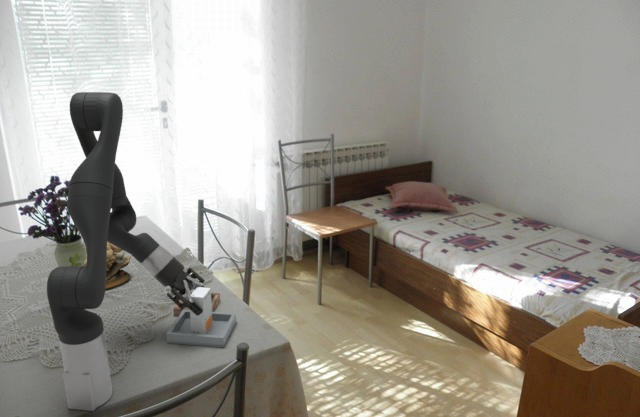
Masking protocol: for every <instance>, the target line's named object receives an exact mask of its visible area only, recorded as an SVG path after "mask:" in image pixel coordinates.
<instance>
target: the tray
mask: <svg viewBox="0 0 640 417" xmlns="http://www.w3.org/2000/svg"><path fill="white" fill-rule="evenodd" d="M236 324H237V313H236V312H223V311H222V312H221V311H214V312H212V326H211V327H210V329H209V330H208V332H207V333H206V335H204V334H191V321H190V310H183V311H182V312H181V313H180V315H179V316H177V318H176V319H175V321H174V322H173V324H172V325H171V326H170V327H169V329H168V330H167V332H166V343H167V344H172V345H173V344H175V345H185V346H186V345H187V346H199V347H213V348H225V346H226V344H227V342H228V340H229V338H230V337H231V334H232V332H233V330H234V327H235V326H236Z"/></svg>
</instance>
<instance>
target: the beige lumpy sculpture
mask: <svg viewBox="0 0 640 417" xmlns="http://www.w3.org/2000/svg"><path fill="white" fill-rule="evenodd" d="M84 247H85V248H86V246H84ZM130 262H131V256H129V255H127V256H125V251H124V250H122V249H120V248H118V247H117V246H115V245H113V244H111V243H109V242H107V262H106V288H105V292H106V291H109V290H113V289H117V288H119V287H122V286H124V285H125V284H127V283H128V282H130V281H131V279H132V278H131V277H132V276H131V274H130V273H129V272H127V271H126V270H124V269H123V268H125V267H127V266H128V265H129V264H130ZM86 264H87V252H86V260H85V261H84V264H83V266H86Z"/></svg>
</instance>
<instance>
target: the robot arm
mask: <svg viewBox="0 0 640 417" xmlns="http://www.w3.org/2000/svg"><path fill="white" fill-rule="evenodd" d="M69 115H70V119H71V122H72V125H73V129H74V131H75V133H76V136H77V139H78V140H79V144H80V146H81V149H82V152H83V154H84V157H85V158H84V160H83V161H82V162H81V163H80V165H79V166H78V167H77V168H76V169H75V171H74V172H73V173H72V175H71V178H70V180H69V184H68V194H67V199H66V200H67V203H66V207H67V208H66V209H67V211H68V214H69V216H70V219H71V220H72V223H73V224H74V226H75V228H76V229H77V231H78V232H79V234H80V236H81V238H82V239H83V244H84V245H85V246H84V247H86V252H87V264H86V266H77V265H76V266H57V267H54V268H53V269H52V270H51V271H50V273H49V274H48V277H47V282H46V294H47V295H46V296H47V301H48V304H49V308H50V313H51V318H52V321H53V326H54V329H55V332H56V333H57V335H58V336H57V337H58V340H59V341H58V342H59V346H60V347H59V348H60V353H61V360H62V365H63V370H64V372H63V373H62V380H63V386H64V390H65V395H66V396H65V398H66V402H67V403H66V404H67V407H68V409H70V410H80V411H89V412H94V411H95V410H96V409H97V408H98V407H100V406H102V405H105V404H106V403H107V402H108V401H109V400H110V399H111V397H112V395H113V386H112V378H111V371H110V365H109V364H110V363H109V359H108V358H109V356H108V350H107V344H106V335H105V329H104V321H103V318H102V317H101V316H100V315H99V314H97V313H95V312H92V311H90V310H96V309H99V307H100V306H101V305H102V303H103V301H104V298H105V294H106V291H105V288H106V262H107V242H109V243H111V244H113V245H115V246H117V247H118V248H120V249H122V250H124V252H126V253H128V254H130V255H131V256H132V257H133V258H134V259H135V260H136V261H137V262H139V264H141V265H142V267H143V268H144V269H145V270H146V271H147V272H148V273H149V274H150V275H151V276H152V277H153V278H154V279H155V280H156V281H158V283H160V285H162V286H163V287H165V288H166V287H169V288H170V290H169V291H168V292H167V293H166V296H167V297H168V299H170V300H171V301H172V302H173V303H174V304H175V305H177V306H178V307H179V308H180V309H184V308H189V309H190V310H191V311H192V312H193V313H194V314H196V315H197V316H199V315H200V314H201V313H202V312H203V309H202V308H201V307H200V306H199V305H197V304H196V303H195V302H193V300H192V298H191V292H190V291H194V290H195V289H196V288H197V287H204V288H206V286H205V279H204V278H203V277H201V275H199V274H198V273H197V272H196V271H195V270H194V269H193V268H192V267H188V268H187V269H186V270H185V266H184V265H183V264H182V263H181V262H180V261H179V259H177V258H176V257H175V256H174V255H173V254H172V253H170V252H169V251H168V250H167V249H166V248H164V246H162V245H160V244H159V243H158V242H157V240H155V239H154V238H153V237H152V236H151V235H150V234H148V233H147V232H142V233H140V234H135V235H134V234H133V233H130V231H132V230H133V229H134V228H135V226H136V224H137V213H136V211H135V209H134V207H133V205H132V204H131V201H130V200H129V198H128V196H127V191H126V186H125V180H124V176H123V174H122V172H121V170H120V168H119V166H118V165H117V163H116V158H117V156H116V155H117V152H118V146H119V140H120V136H121V130H122V124H123V120H124V119H123V118H124V106H123V101H122V98H121V96H120V95H119V94H117V93H115V92H110V91H109V92H107V91H106V92H103V91H99V92H98V91H89V92H86V91H83V92H82V91H81V92H80V91H79V92H76V93H74V94H72V96H71V98H70V102H69ZM95 132H99V135H98V137H96V135H95ZM97 138H98V139H97ZM212 296H213V295H212V294H211V298H212ZM186 299H188V301H187V300H186ZM179 300H180V301H182V302H183V304H181V303H180V302H179Z"/></svg>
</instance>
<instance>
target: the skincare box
mask: <svg viewBox="0 0 640 417" xmlns="http://www.w3.org/2000/svg"><path fill="white" fill-rule="evenodd" d="M204 287H205V286H204ZM204 287H197V288H196V289H195V290H192V294H191V298H192V300H193V302H195V303H196V304H197V305H199V306H200V307H201V308H202V309H203V312H202V313H201V314H200V315H199V316H197V315H196V314H194V313H193V312H192V311H191V310H190V321H191V334H204V335H206V333H207V332H208V330H209V329H210V327H211V326H212V303H211V293H212V288H211V287H205V288H204Z"/></svg>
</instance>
